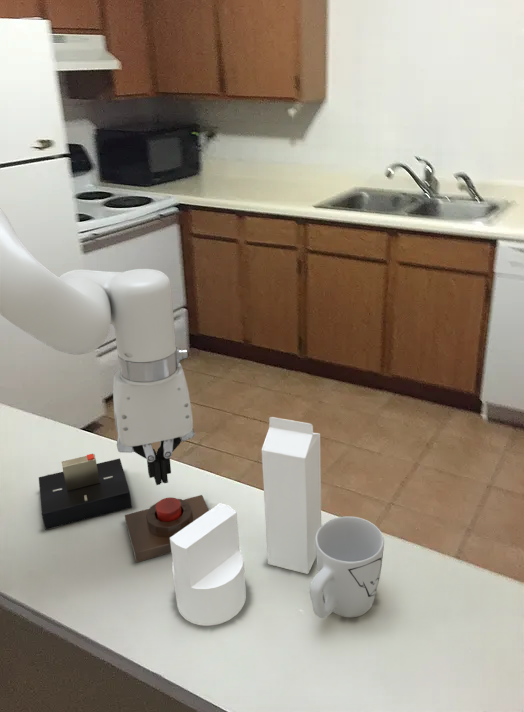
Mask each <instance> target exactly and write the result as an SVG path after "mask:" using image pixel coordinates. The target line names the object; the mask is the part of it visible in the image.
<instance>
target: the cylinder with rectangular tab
mask: <svg viewBox="0 0 524 712" xmlns="http://www.w3.org/2000/svg"><path fill="white" fill-rule="evenodd" d="M238 525H239V524H238V512H237V511H236V510H235V509H234V508H233V507H231V506H230V505H228V504H226V503H222V502H219V503H217V504H216V505H215V506H213V507H212V508H210V509H209V511H208V512H206V513H205V514H203V515H202V516H200V517H199V518H198V519H196V520H195V521H193V522H192V523H190V524H189V525H187V526H186V527H185V528H183V529H182V530H180V531H179V532H177V533H176V534H174V535H173V536H172V537H170V544H171V558H172V564H171V566H172V577H173V584H174V592H175V593H174V594H175V600H176V608H177V611H178V612H179V614H180V615H181V617H183V618H184V619H185V620H186V621H188V622H189V623H191V624H192V625H193V624H194V625H198V626H206V627H207V626H209V627H210V626H216V625H217V626H218V625H221V624H223V623H226V622H228V621H230V620H231V619H233V618H234V617H236V616H237V615H238V614H239V613H240V612H241V610H242V609H243V607H244V605H245V603H246V599H247V589H246V576H245V575H246V574H245V564H244V563H245V562H244V556H243V553H242V551H241V549H240V539H239V538H240V537H239V526H238Z"/></svg>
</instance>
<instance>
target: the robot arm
mask: <svg viewBox="0 0 524 712" xmlns="http://www.w3.org/2000/svg"><path fill="white" fill-rule="evenodd" d="M173 304H174V303H173V294H172V284H171V280H170V277H169V276H168V275H167V274H166V273H164V272H163V271H161V270H158V269H155V268H154V269H152V268H133V269H129V270H125V271H109V270H107V271H106V270H105V271H104V270H93V269H73V270H69V271H66V272H64V273H62V274H61V275H59V276H58V275H56V274H55V273H53V272H52V271H51V270H50V269H48V268H47V267H45V265H43V264H42V263H41V262H40V261H39V260H38V259H37V258H35V256H34V255H33V254H32V253H31V252H30V251H29V250H28V248H27V247H26V246H25V245H24V244H23V242H22V241H21V240H20V238H19V236H18V235H17V233H16V231H15V229H14V227H13V224H12V223H11V221H10V220H9V218H8V216H7V214H6V213H5V212H4V211H3V210H2V208H1V207H0V315H1V316H2V317H3V318H4V319H6V320H7V321H8V322H9V323H11V324H13V325H14V326H15V327H17V328H18V329H20V330H22V331H23V332H25V333H26V334H28V335H30V336H31V337H33V338H34V339H36V340H38V342H41V344H44V345H46V346H48V347H49V348H51V349H54V350H55V351H58V352H61V353H63V354H68V355H86V354H89V353H92V352H94V351H95V350H97V349H99V348H100V347H101V346H102V345H103V344H104V342H105V341H106V339H107V338H108V336H109V333H110V330H111V325H112V326H113V328H114V335H115V343H116V352H117V360H118V367H119V369H118V370H117V371H116V372H114V374H113V375H114V376H113V382H112V383H113V385H112V386H113V388H112V390H113V391H112V399H113V415H114V417H113V418H114V425H115V430H116V433H117V440H116V448H117V451H118V453H135V454H137V455H138V456H140V457H141V458H144V459H145V460H146V464H147V472H148V476H149V478H150V479H152V478H153V479H154V481H155V485H156V486H160V485H161V484H168V483H169V477H168V475H169V474H172V467H171V458H172V456H173V452H174V451H175V450H176V449H177V448H178V446H180V444H181V443H183V442H186V441H188V440H190V439H193V438H195V436H196V432H195V431H194V417H193V411H192V409H193V408H192V404H191V398H190V393H189V387H188V382H187V379H186V374H185V372H184V369H183V366H182V364H181V361H183V360H185V359H188V358H189V353H188V350H187V348H178V346H177V343H176V342H177V341H176V331H175V320H174V319H175V318H174V306H173ZM158 442H159V447H158V448H157V450H155V448H153V445H152V444H153V443H158Z"/></svg>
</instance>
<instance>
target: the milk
mask: <svg viewBox="0 0 524 712" xmlns="http://www.w3.org/2000/svg"><path fill="white" fill-rule="evenodd" d="M268 425H269V426H268V430H267V433H266V436H265V438H264V442H263V444H262V446H261V465H262V482H263V500H264V521H265V534H266V535H265V537H266V552H267V553H266V554H267V564H268V565H269V566H274V567H278V568H282V569H286V570H289V571H294V572H298V573H302V574H305V575H309V573H310V571H311V569H312V567H313V565H314V563H315V560H317V556H316V547H315V538H316V534H317V531H318V530H319V528H320V527H321V526H322V480H321V479H322V470H321V469H322V468H321V465H322V464H321V463H322V462H321V461H322V460H321V433H319V432H314V426H313V424H312V423H310V422H305V421H298V420H292V419H286V418H281V417H275V416H270V417H269V418H268Z"/></svg>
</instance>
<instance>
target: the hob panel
mask: <svg viewBox="0 0 524 712" xmlns="http://www.w3.org/2000/svg"><path fill="white" fill-rule="evenodd" d="M96 464H97V469H98V475H99V481H100V483H97V484H93V485H89V486H85V487H81V488H77V489H73V490H69V491H67V487H66V482H65V477H64V473H63V471H59V472H55V473H50V474H47V475H42V476H39V477H38V485H39V486H38V487H39V496H40V507H41V516H42V521H43V525H44V529H45V531H47V530H51V529H55V528H57V527H62V526H67V525H70V524H73V523H77V522H81V521H85V520H89V519H93V518H96V517H101V516H105V515H108V514H113V513H117V512H120V511H124V510H127V509H132V508H133V504H132V498H131V492H130V488H129V485H128V481H127V478H126V474H125V470H124V468H123V464H122V461H121V458H115V459H111V460H107V461H102V462H98V463H96Z"/></svg>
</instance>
